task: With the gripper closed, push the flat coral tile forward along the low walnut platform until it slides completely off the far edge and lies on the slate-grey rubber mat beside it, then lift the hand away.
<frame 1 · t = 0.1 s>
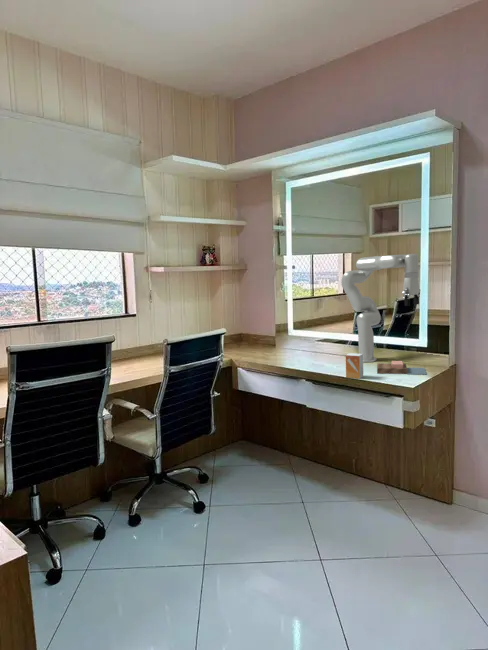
hand: (411, 305, 254), 37 cm above the worktop, tool pointing down, fingers open, 9 cm apart
mat: (415, 371, 248), on the worktop
platform: (391, 371, 252), on the worktop
tile: (397, 364, 251), point 4 cm above the worktop, touching platform
small box: (354, 377, 244), on the worktop
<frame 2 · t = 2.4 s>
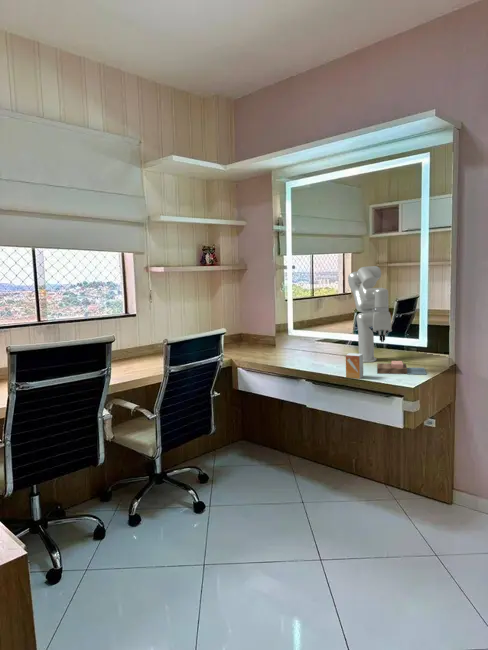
hand: (382, 341, 251), 17 cm above the worktop, tool pointing down, fingers closed
nothing on the worktop moved.
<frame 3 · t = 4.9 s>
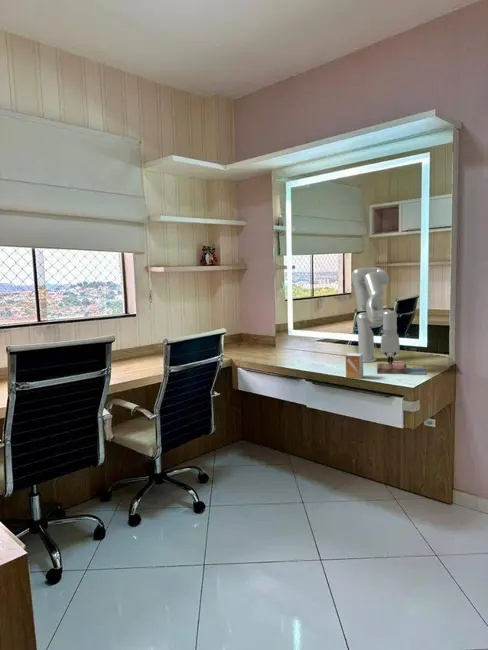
hand: (390, 363, 252), 4 cm above the worktop, tool pointing down, fingers closed
tile: (398, 364, 251), point 4 cm above the worktop, touching gripper, platform
everything else where it was.
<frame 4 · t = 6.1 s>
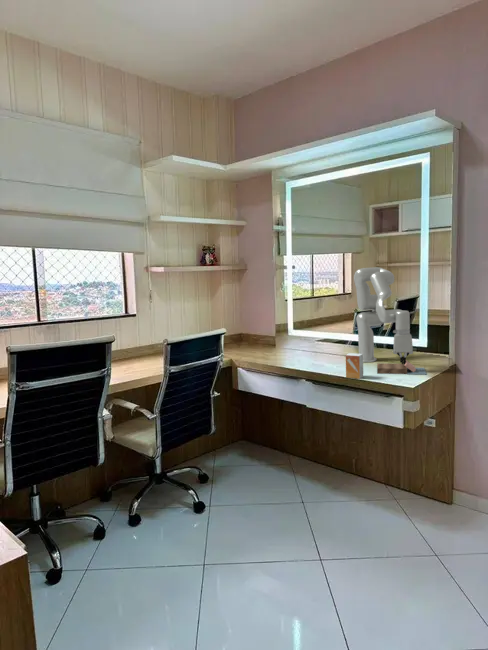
hand: (403, 363, 250), 4 cm above the worktop, tool pointing down, fingers closed
tile: (409, 366, 249), point 3 cm above the worktop, tilted 38°, touching gripper, mat
everything else where it was.
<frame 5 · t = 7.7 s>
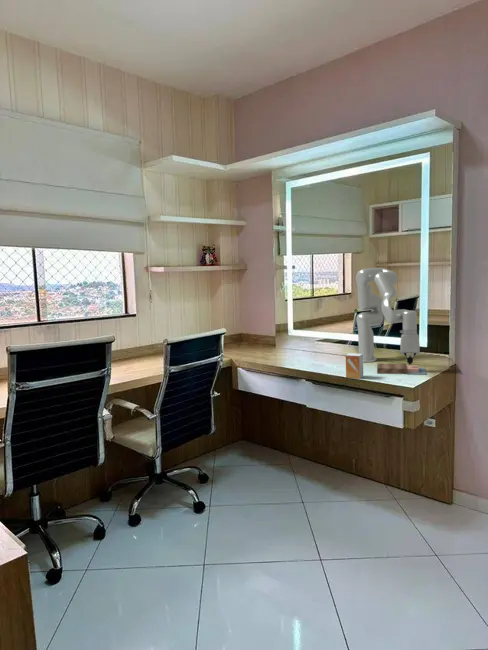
hand: (410, 363, 249), 4 cm above the worktop, tool pointing down, fingers closed
tile: (412, 368, 249), point 1 cm above the worktop, touching mat
everything else where it was.
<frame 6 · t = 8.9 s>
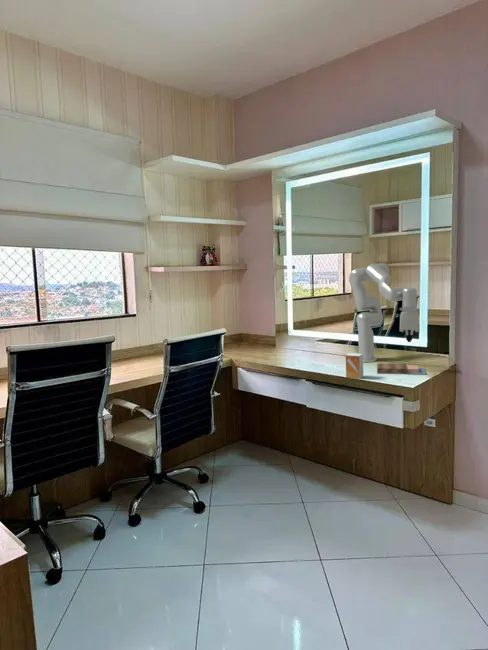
hand: (409, 341, 248), 17 cm above the worktop, tool pointing down, fingers closed
nothing on the worktop moved.
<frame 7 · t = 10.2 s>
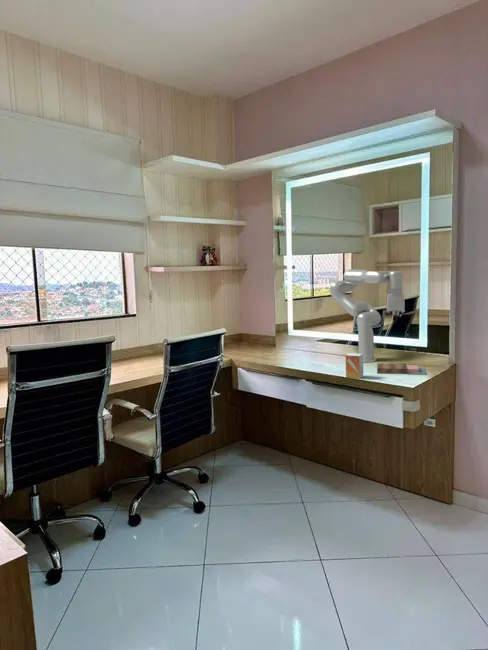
hand: (395, 321, 263), 27 cm above the worktop, tool pointing down, fingers closed
nothing on the worktop moved.
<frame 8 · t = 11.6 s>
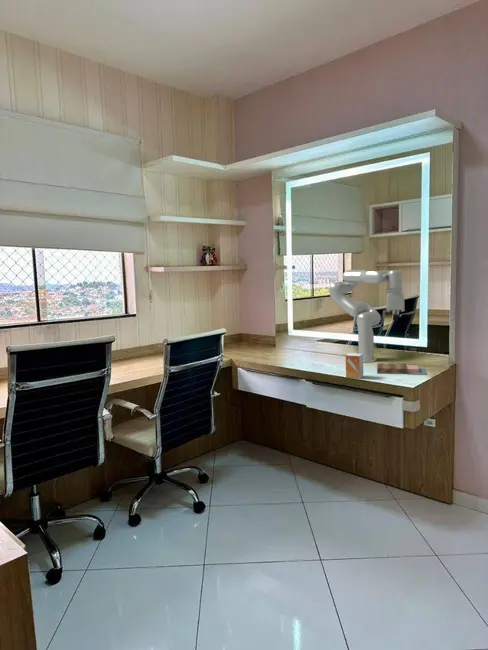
hand: (395, 321, 264), 27 cm above the worktop, tool pointing down, fingers closed
nothing on the worktop moved.
at the end: tile inside the target area on the mat (2.2 cm from its centre), point 1.4 cm above the mat's base; tile point 1.4 cm above the worktop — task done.
